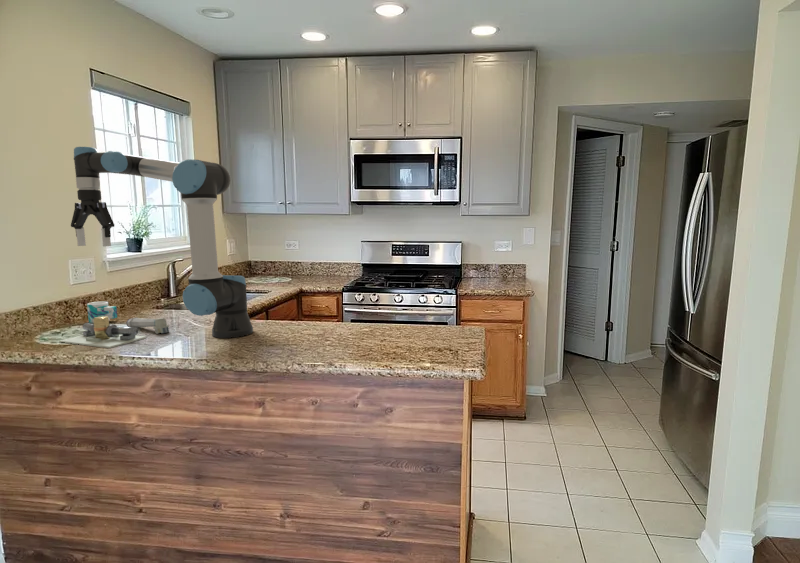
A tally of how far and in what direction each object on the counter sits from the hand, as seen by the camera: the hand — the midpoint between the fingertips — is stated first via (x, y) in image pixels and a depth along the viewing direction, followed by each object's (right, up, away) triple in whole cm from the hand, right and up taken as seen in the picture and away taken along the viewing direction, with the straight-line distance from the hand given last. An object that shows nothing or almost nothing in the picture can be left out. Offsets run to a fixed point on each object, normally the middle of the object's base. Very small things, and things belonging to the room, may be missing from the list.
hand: (94, 246), depth 187 cm
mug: (-15, -31, +31) cm, 47 cm away
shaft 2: (+14, -35, -5) cm, 38 cm away
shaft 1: (-1, -34, +1) cm, 34 cm away
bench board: (+6, -36, -4) cm, 36 cm away
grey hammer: (+14, -34, +12) cm, 39 cm away
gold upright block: (+6, -35, -4) cm, 36 cm away
